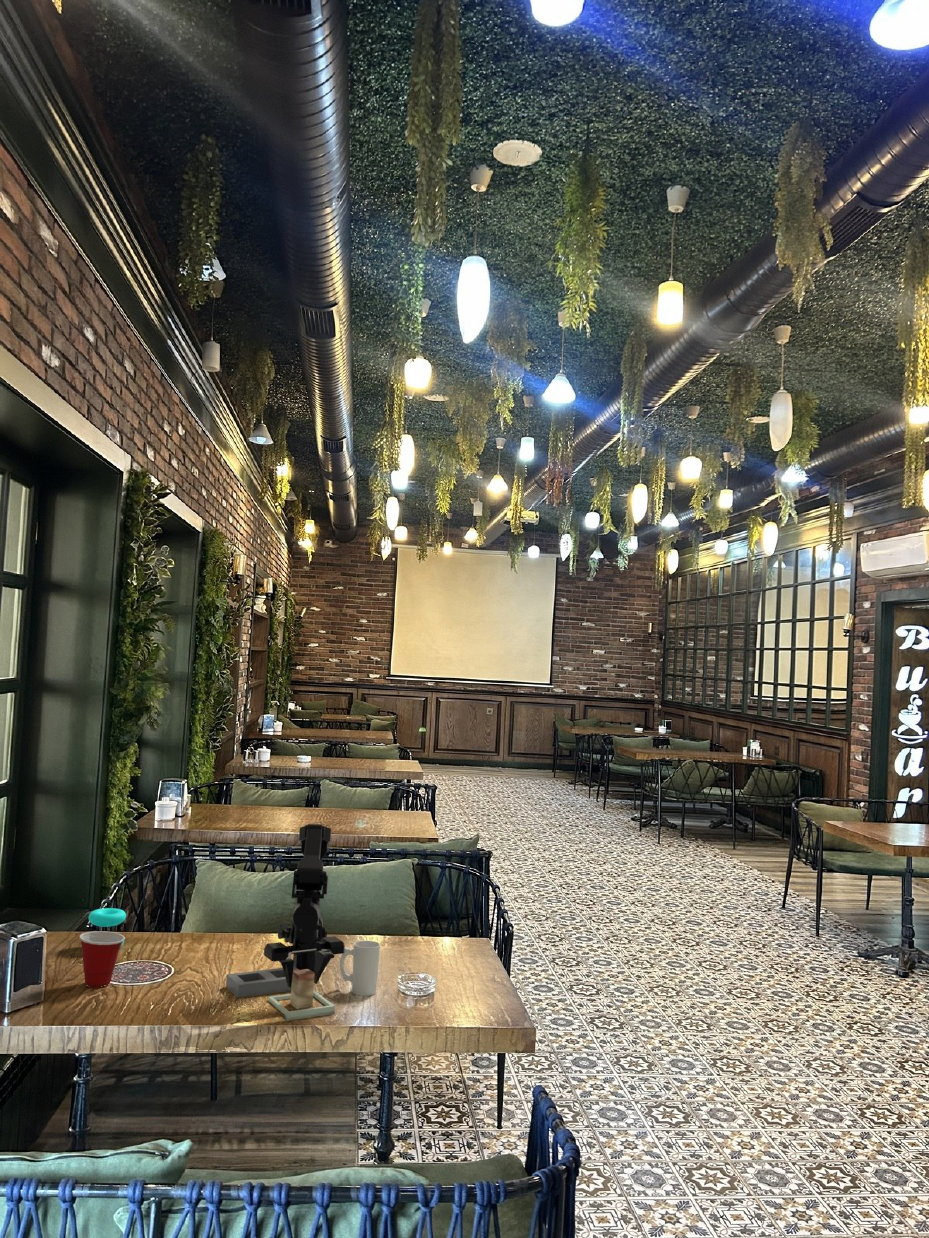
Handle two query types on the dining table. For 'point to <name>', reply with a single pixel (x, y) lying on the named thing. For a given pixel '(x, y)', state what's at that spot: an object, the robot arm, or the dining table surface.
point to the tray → (304, 1012)
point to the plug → (302, 988)
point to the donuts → (107, 917)
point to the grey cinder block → (258, 982)
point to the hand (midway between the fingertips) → (302, 984)
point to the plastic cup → (100, 956)
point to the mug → (362, 967)
